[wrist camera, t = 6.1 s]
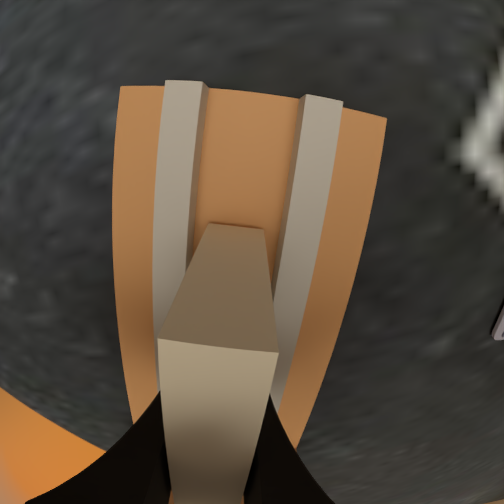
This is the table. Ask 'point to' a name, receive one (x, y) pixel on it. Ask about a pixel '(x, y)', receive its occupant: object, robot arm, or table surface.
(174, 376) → the door panel
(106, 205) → the table surface
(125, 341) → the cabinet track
